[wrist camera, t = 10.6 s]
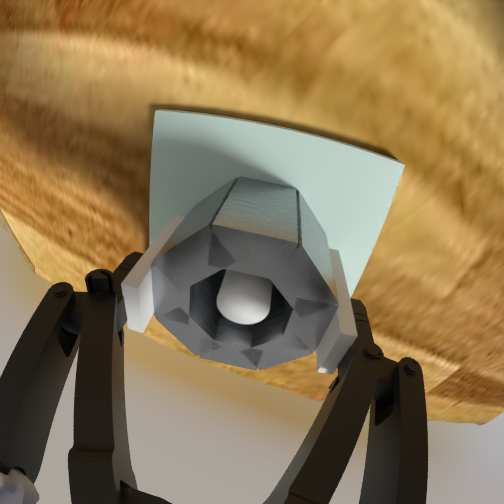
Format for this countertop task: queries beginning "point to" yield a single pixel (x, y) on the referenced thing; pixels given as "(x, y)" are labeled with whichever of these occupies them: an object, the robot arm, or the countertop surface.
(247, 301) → the post block
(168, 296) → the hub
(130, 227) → the countertop surface
